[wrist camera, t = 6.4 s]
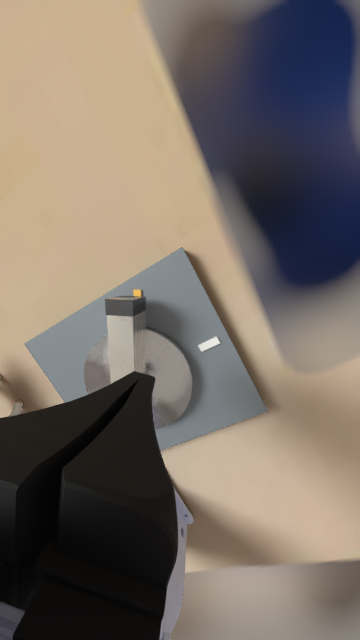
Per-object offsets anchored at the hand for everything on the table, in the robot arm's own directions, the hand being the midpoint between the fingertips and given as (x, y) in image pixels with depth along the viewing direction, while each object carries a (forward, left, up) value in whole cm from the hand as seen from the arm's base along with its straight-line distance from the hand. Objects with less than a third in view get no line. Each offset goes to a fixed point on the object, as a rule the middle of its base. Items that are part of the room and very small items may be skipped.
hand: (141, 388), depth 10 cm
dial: (-1, +4, -8) cm, 8 cm away
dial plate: (-2, +4, -9) cm, 10 cm away
